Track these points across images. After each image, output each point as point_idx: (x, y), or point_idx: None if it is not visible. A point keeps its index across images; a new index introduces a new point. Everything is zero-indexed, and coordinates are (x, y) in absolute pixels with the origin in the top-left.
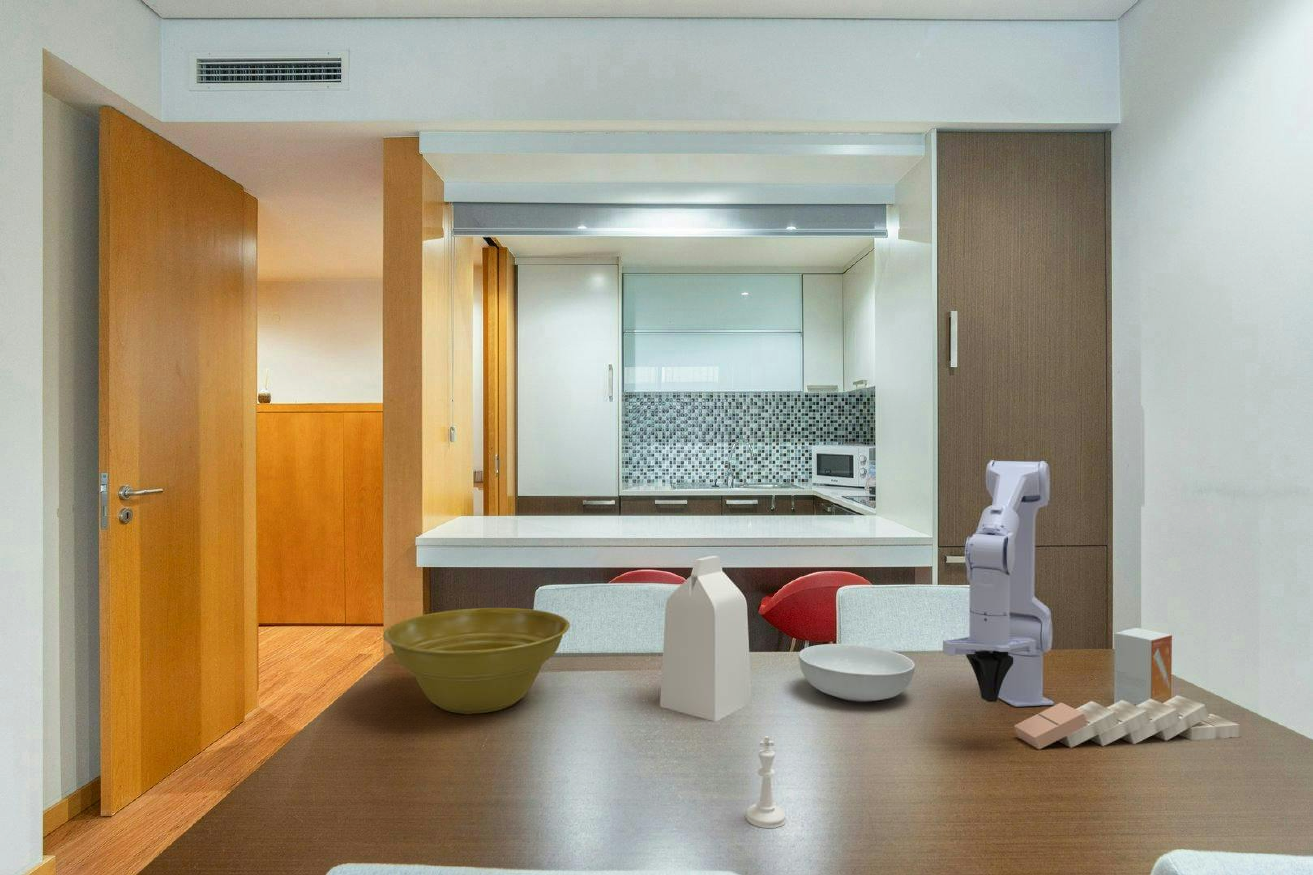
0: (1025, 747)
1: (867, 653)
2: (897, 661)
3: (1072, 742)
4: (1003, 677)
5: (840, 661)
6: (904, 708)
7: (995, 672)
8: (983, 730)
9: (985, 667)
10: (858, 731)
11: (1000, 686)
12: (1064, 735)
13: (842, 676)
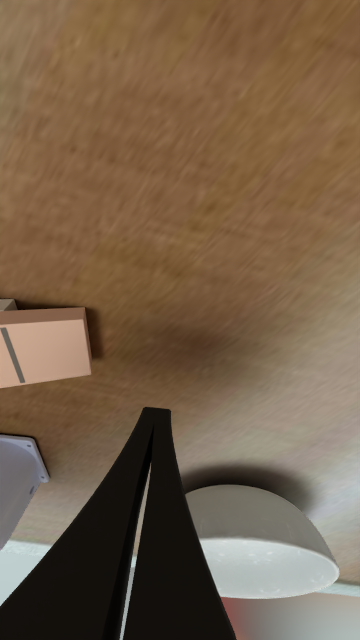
0: (105, 321)
1: None
2: None
3: (2, 302)
4: (99, 495)
5: (214, 557)
6: (200, 463)
7: (142, 539)
8: (135, 390)
9: (220, 602)
10: (336, 427)
11: (123, 452)
12: (8, 312)
13: (319, 544)
